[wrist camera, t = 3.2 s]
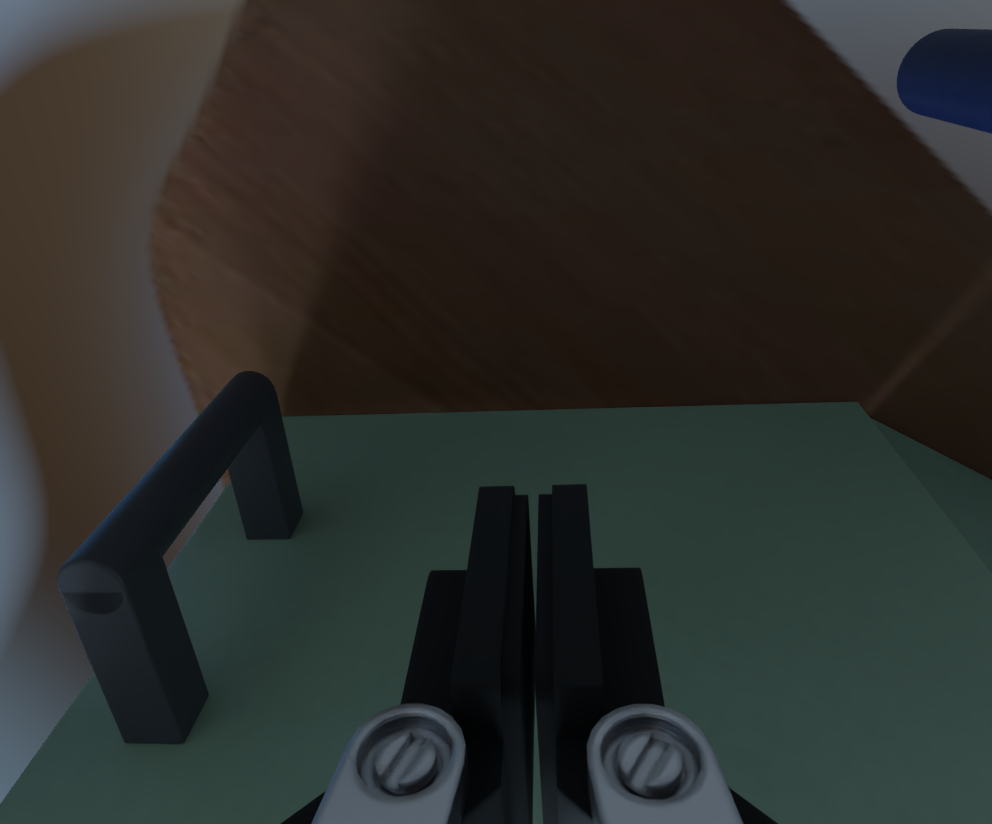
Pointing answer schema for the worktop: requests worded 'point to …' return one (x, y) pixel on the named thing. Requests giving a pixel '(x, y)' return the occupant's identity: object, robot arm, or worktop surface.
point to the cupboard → (951, 490)
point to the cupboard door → (615, 544)
